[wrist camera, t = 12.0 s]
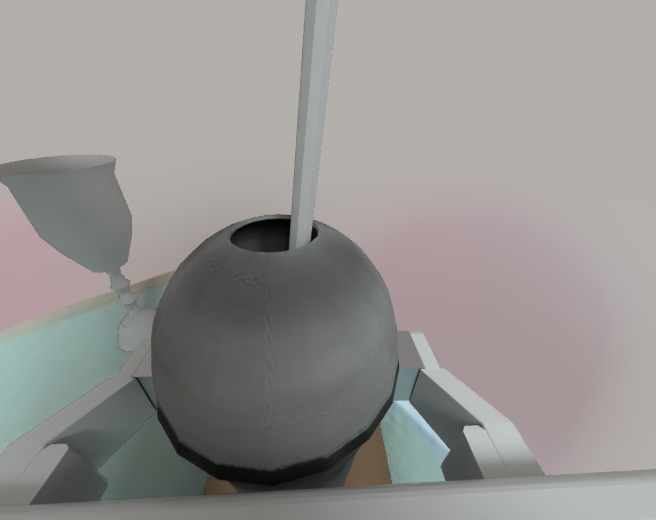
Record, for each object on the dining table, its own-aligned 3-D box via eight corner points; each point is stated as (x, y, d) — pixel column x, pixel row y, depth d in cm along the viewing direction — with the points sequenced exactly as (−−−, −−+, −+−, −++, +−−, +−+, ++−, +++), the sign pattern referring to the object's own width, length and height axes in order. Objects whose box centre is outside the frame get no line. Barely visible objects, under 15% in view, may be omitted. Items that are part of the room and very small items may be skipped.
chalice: (159, 359, 25) (64, 175, 16) (88, 361, 25) (-53, 174, 15) (190, 309, 31) (135, 155, 22) (133, 310, 31) (53, 153, 22)
